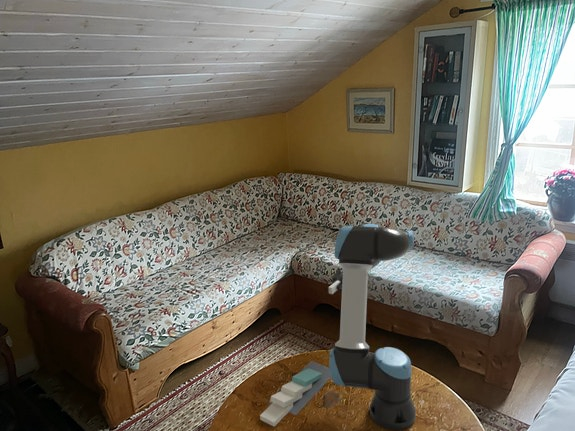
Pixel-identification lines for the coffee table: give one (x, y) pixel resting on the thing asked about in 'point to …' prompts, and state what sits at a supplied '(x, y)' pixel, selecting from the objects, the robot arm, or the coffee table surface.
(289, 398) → the ivory domino
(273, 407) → the ivory domino
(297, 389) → the ivory domino
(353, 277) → the robot arm
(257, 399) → the coffee table surface
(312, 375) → the teal domino
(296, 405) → the slate runway
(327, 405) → the shard
